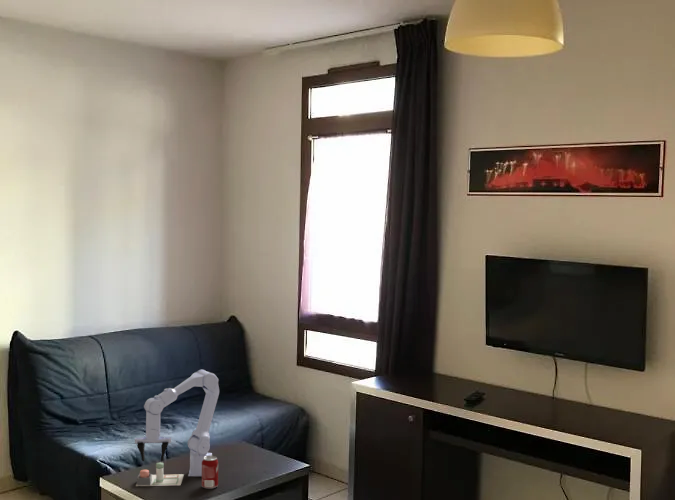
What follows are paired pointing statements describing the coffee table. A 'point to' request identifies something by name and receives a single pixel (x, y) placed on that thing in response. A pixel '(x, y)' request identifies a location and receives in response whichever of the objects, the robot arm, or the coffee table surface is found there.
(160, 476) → the marker
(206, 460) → the soda can
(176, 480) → the sheet
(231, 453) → the coffee table surface
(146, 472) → the button
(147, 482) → the button base
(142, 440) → the robot arm
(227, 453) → the coffee table surface
